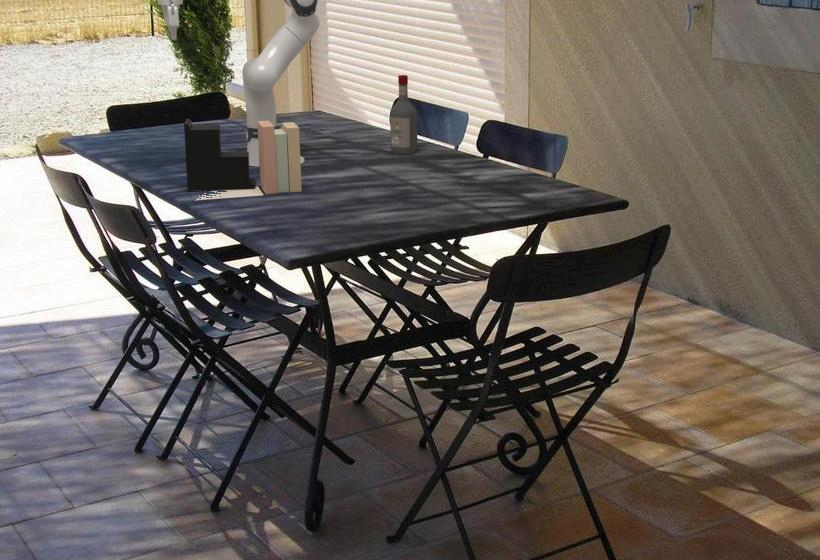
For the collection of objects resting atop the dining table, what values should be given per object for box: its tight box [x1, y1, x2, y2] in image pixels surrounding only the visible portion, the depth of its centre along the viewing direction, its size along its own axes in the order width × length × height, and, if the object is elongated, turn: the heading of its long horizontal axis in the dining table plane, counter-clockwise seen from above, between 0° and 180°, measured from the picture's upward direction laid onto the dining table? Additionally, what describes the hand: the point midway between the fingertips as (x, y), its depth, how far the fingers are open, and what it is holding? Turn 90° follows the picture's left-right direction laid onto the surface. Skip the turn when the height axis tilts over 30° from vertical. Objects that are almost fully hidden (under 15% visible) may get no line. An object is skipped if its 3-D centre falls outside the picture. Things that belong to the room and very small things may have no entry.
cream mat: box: [195, 185, 264, 201], centre depth 414 cm, size 24×14×1 cm, turn 105°
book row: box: [257, 121, 303, 195], centre depth 416 cm, size 12×12×23 cm
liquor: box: [389, 74, 419, 156], centre depth 474 cm, size 9×9×30 cm
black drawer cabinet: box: [183, 118, 257, 191], centre depth 420 cm, size 23×11×24 cm, turn 96°
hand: (172, 38), depth 440 cm, fingers open, 8 cm apart
